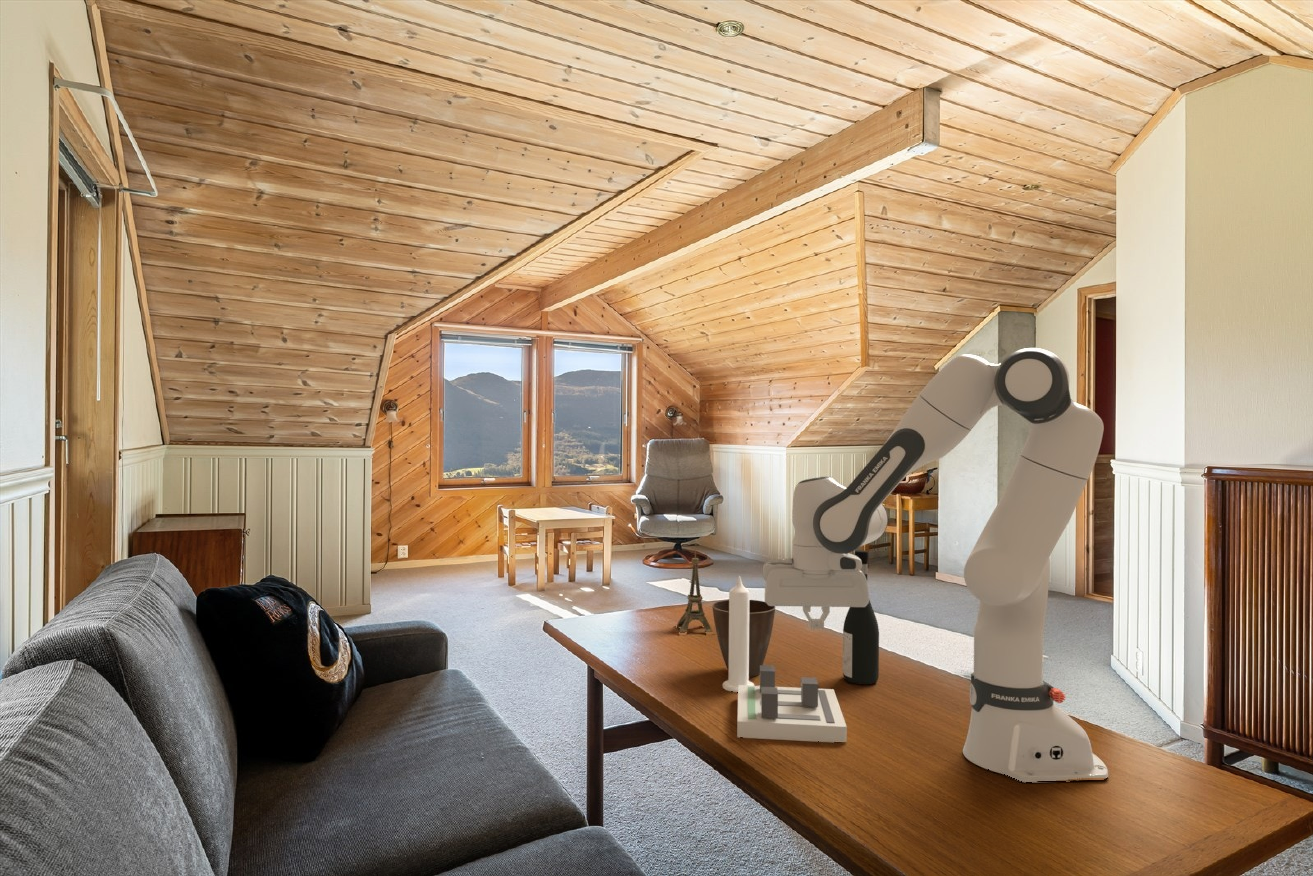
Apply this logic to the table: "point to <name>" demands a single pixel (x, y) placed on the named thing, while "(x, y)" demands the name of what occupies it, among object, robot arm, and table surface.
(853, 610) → the wine bottle
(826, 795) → the table surface
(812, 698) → the handle
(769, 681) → the handle
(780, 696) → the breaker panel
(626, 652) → the table surface
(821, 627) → the robot arm
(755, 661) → the plant pot
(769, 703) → the handle
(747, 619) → the candle
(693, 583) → the eiffel tower
